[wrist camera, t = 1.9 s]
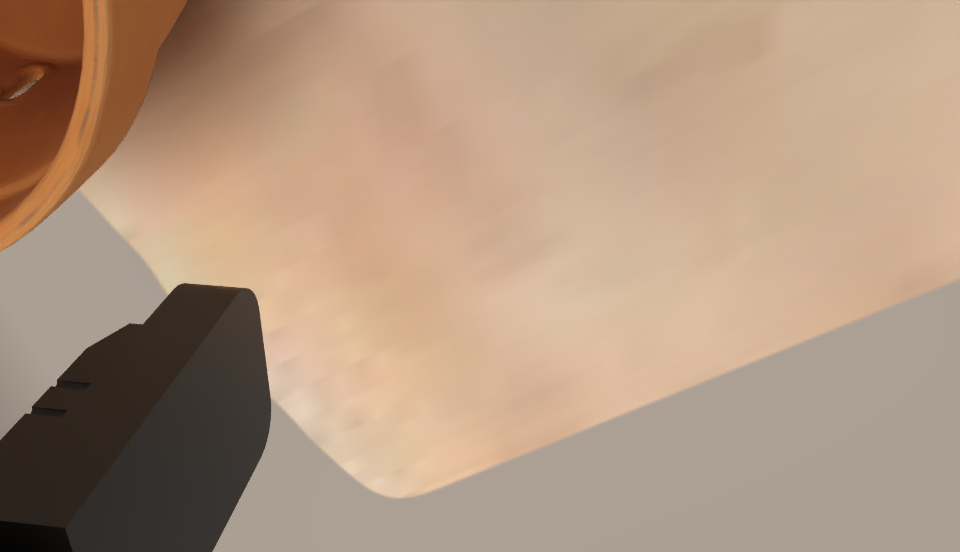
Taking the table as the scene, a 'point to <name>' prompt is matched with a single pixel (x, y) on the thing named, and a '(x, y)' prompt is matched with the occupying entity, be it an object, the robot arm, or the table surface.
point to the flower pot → (69, 95)
